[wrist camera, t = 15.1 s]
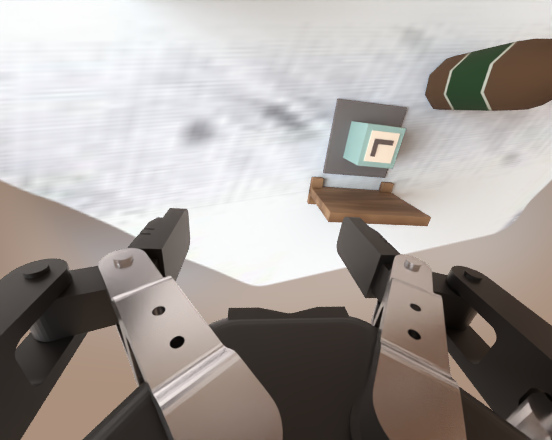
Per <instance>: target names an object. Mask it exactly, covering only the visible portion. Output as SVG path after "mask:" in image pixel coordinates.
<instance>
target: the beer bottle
mask: <svg viewBox="0 0 552 440" xmlns="http://www.w3.org/2000/svg"><path fill="white" fill-rule="evenodd" d="M425 96H426V97H427V99H428V101H429V102H430V104H431V106H432V107H433V109H443V110H486V111H497V110H522V109H530V108H534V107H537V106H540V105H543V104H545V103H547V102H549V101H551V100H552V39H530V40H524V41H517V42H513V43H509V44H504V45H500V46H496V47H492V48H487V49H483V50H479V51H475V52H470V53H466V54H462V55H458V56H454V57H451V58H448V59H446V60H445V61H444V62H443V63H442V64H441V65H440V66H439V67H438V68H437V69H436V70H435V71H434V72H433V73H431V74H430V76H429V80H428V84H427V88H426V93H425Z"/></svg>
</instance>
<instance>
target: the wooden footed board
mask: <svg viewBox="0 0 552 440" xmlns="http://www.w3.org/2000/svg"><path fill="white" fill-rule="evenodd" d="M323 180H324V179H323V178H322V177H312V178H311V184H310V189H309V195H308V201H307V202H308V204H317V206H318V207H319V209H320V210H321V212H322V213H323V215H324V216H325V217H326V219H327V220H328V222H342V221H343V219H344V218H345V217H359V218H361V219H362V220H363V221H364V222H365V223H368V224H391V225H413V226H428V223H429V221H430V219H431V217H430V216H428V215H426V214H425V213H423V212H422V211H420V210H418V209H417V208H415V207H413V206H412V205H410V204H408V203H407V202H405V201H404V200H402V199H400V198H399V197H397V196H395V195H394V194H392V193H391V191H392V188H393V185H394V184H393V183H390V182H381V185H380V188H379V190H365V189H350V188H335V187H322V185H323Z"/></svg>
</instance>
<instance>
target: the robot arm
mask: <svg viewBox="0 0 552 440" xmlns="http://www.w3.org/2000/svg"><path fill="white" fill-rule="evenodd" d="M189 245H190V230H189V216H188V210H187V209H179V208H170V209H169V210H168V212H167V213H166V214H165V216H164V217H163V218H159V217H158V218H156V219H154V220H152V221H150V222H149V223H148V224H147V225H146V226H145V228H144V229H143V230H142V231H141V232H140V234H139V235H138V236H137V237H136V238H135V239H134V241H133V242H132V243H131V244H130V246H129V247H128V248H126V249H121V250H116V251H114V252H111V253H109V254H107V255H105V256H104V257H103V258H102V259H101V260H100V261H99V263H98V266H95V267H89V268H83V269H77V270H71V271H70V270H69V267H68V264H67V262H66V261H64V260H61V259H44V260H39V261H34V262H31V263H28V264H25V265H23V266H21V267H18V268H16V269H15V270H13V271H11V272H10V273H9V274H8V275H6V276H5V277H3V278H2V279H1V280H0V440H20V439H21V438H22V436H23V435H24V433H25V431H26V430H27V428H28V426H29V425H30V423H31V422H32V420H33V419H34V417H35V416H36V414H37V412H38V411H39V409H40V408H41V406H42V404H43V402H44V401H45V400H46V398H47V396H48V395H49V393H50V391H51V390H52V388H53V387H54V385H55V384H56V382H57V380H58V379H59V377H60V376H61V374H62V372H63V371H64V369H65V368H66V366H67V365H68V363H69V361H70V360H71V358H72V357H73V355H74V353H75V352H76V350H77V348H78V347H79V345H80V344H81V342H82V340H83V339H84V337H85V336H86V334H87V333H88V332H89V331H93V330H97V329H101V328H104V327H108V326H112V325H116V328H117V331H118V334H119V336H120V339H121V341H122V344H123V346H124V349H125V352H126V354H127V357H128V360H129V363H130V365H131V368H132V371H133V374H134V377H135V380H136V383H137V386H138V388H137V389H136V390H134V391H133V392H132V393H131V394H130V395H129V396H128V397H127V398H126V399H125V400H124V401H123V402H122V403H121V404H120V405H119V406H118V407H117V408H116V409H114V410H113V411H112V412H111V413H110V414H109V415H108V416H107V417H106V418H105V419H104V420H103V421H102V422H101V423H100V424H99V425H97V426H96V427H95V428H94V429H93V430H92V431H91V432H90V433H89V434H88V435H87V436H86V437H85V438H84V439H83V440H552V326H551V325H550V324H548V323H547V322H546V321H545V320H543V319H542V318H541V317H539V316H538V315H537V314H535V313H534V312H533V311H531V310H530V309H529V308H527V307H526V306H525V305H524V304H522V303H521V302H519V301H518V300H517V299H516V298H514V297H513V296H511V295H510V294H509V293H508V292H506V291H505V290H504V289H502V288H501V287H500V286H499V285H497V284H496V283H495V282H493V281H492V280H491V279H489V278H488V277H487V276H485V275H483V274H482V273H480V272H478V271H476V270H473V269H470V268H467V267H463V266H454V267H452V268H451V270H450V272H449V274H448V275H444V274H439V273H435V272H432V270H431V268H430V267H429V265H427V264H426V263H425V262H423V261H422V260H420V259H418V258H416V257H413V256H409V255H403V254H400V253H399V252H398V251H397V250H396V249H395V248H394V247H393V246H392V245H391V244H390V243H387V241H386V240H385V239H384V238H383V237H382V236H381V235H380V234H379V233H378V232H377V231H375V230H374V229H372V228H370V227H369V226H368V225H367V224H366V223H365V222H364V221H363V220H362V219H361V218H359V217H345V218H344V219H343V221H342V225H341V229H340V233H339V237H338V241H337V252H338V254H339V256H340V257H341V259H342V261H343V262H344V264H345V265H346V267H347V269H348V270H349V272H350V274H351V275H352V277H353V279H354V280H355V282H356V283H357V285H358V287H359V288H360V290H361V292H362V293H363V295H364V297H365V298H377V299H378V300H377V303H376V306H375V309H374V313H373V317H372V320H371V324H369V323H367V322H365V321H363V320H360V319H358V318H354V317H351V316H349V315H348V313H347V311H346V309H345V307H316V308H312V309H308V310H303V311H299V312H296V313H283V312H278V311H273V310H268V309H262V308H229V311H228V318H226V319H222V320H219V321H216V322H213V323H211V324H209V325H208V324H207V323H206V322H205V320H204V319H203V317H201V315H200V313H198V311H197V310H196V308H195V307H194V306H193V304H192V303H191V302H190V300H189V299H188V298H187V296H186V295H185V294H184V292H183V291H182V290H181V288H180V287H179V286H178V284H177V283H176V279H177V277H178V274H179V271H180V269H181V267H182V264H183V262H184V259H185V257H186V255H187V252H188V250H189ZM477 312H478V313H479V314H480V315H481V316H482V317H483V318H484V319H485V320H486V321H487V322H488V323H489V324H490V325H491V326H492V327H493V328H494V330H495V332H496V336H497V339H496V342H495V344H494V345H493V346H492V347H491V348H490V347H489V346H488V345H487V344H486V343H485V342H484V340H483V339H482V338H481V337H480V336H479V335H478V334H477V333H476V332H475V331H474V330H473V329H472V328H471V327H470V326H469V324H470V323H471V321H472V320H473V318H474V317H475V315H476V314H477ZM29 329H30V331H31V333H30V334H29V335H28V336H27V337H26V338H25V339H24V341H23V342H22V343H21V344H20V345H19V346H18V347H17V344H18V342H19V341H20V339H21V338H22V337H23V335H24V334H25V333H26V332H27V331H28V330H29ZM16 347H17V349H16ZM448 352H449V353H450V355H451V356H452V357H453V359H454V360H455V361H456V363H457V364H458V365H459V367H460V368H461V369H462V371H463V372H464V373H465V375H466V376H467V377H468V379H469V380H470V381H471V382H472V384H473V385H474V387H475V388H476V389H477V390H478V392H479V393H480V394H481V396H482V397H483V399H484V400H485V401H486V402H487V404H488V405H489V406H490V408H491V409H492V410H493V411H492V410H491V409H489V408H488V407H487V406H485V405H484V404H483V403H481V402H480V401H478V400H477V399H476V398H474V397H473V396H471V395H470V394H469V393H467V392H466V391H464V390H463V389H462V388H460V387H459V386H458V384H457V382H456V381H455V380H454V379H452V377H451V374H450V367H449V357H448Z"/></svg>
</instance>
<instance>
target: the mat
mask: <svg viewBox="0 0 552 440" xmlns="http://www.w3.org/2000/svg"><path fill="white" fill-rule="evenodd" d="M406 109H407V108H406V107H399V106H391V105H383V104H375V103H367V102H359V101H351V100H343V99H337V104H336V109H335V114H334V119H333V124H332V129H331V134H330V139H329V145H328V150H327V155H326V160H325V165H324V170H323V173H329V174H343V175H356V176H369V177H382V178H385V175H386V172H387V169H388V168H379V167H369V166H358V165H356V164H354V163H352V162H350V161H348V160H347V159H345V158H343V156H344V151H345V147H346V143H347V139H348V134H349V130H350V126H351V122H352V121H355V122H363V123H371V124H379V125H386V126H393V127H400V128H401V125H402V122H403V119H404V115H405V112H406Z"/></svg>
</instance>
